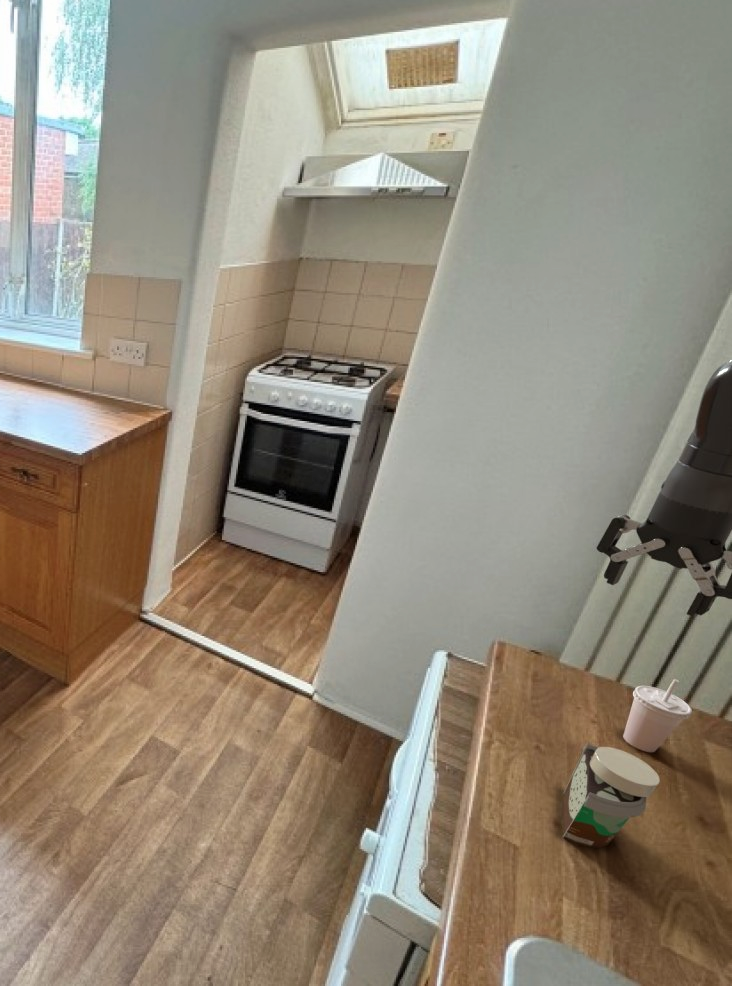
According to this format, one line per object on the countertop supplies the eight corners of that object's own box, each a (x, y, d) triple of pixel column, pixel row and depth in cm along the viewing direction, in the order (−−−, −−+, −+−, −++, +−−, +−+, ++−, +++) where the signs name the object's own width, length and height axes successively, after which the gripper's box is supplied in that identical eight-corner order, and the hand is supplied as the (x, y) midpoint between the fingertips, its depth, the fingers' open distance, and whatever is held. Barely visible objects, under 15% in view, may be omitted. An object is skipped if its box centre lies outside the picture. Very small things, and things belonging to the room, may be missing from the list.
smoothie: (616, 748, 99) (652, 681, 94) (607, 723, 104) (641, 658, 99) (671, 767, 95) (712, 699, 90) (659, 740, 100) (697, 674, 95)
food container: (624, 878, 79) (656, 825, 75) (561, 846, 83) (589, 795, 79) (618, 815, 88) (647, 764, 84) (562, 789, 91) (587, 740, 88)
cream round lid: (660, 789, 80) (668, 775, 79) (639, 807, 78) (647, 792, 77) (600, 754, 85) (607, 740, 85) (579, 769, 83) (586, 756, 82)
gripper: (792, 515, 77) (732, 619, 83) (642, 474, 89) (599, 568, 95) (772, 526, 74) (711, 633, 80) (618, 482, 85) (575, 579, 91)
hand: (650, 598), depth 87 cm, fingers open, 8 cm apart
